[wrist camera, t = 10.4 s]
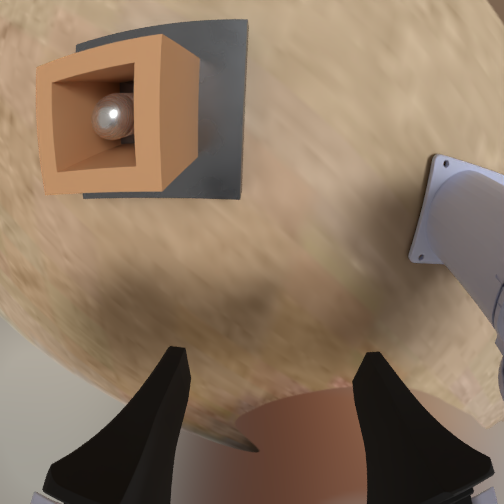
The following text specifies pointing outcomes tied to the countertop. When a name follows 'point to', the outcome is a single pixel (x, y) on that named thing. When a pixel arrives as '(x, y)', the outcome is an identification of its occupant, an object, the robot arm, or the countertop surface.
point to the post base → (209, 108)
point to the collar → (145, 117)
